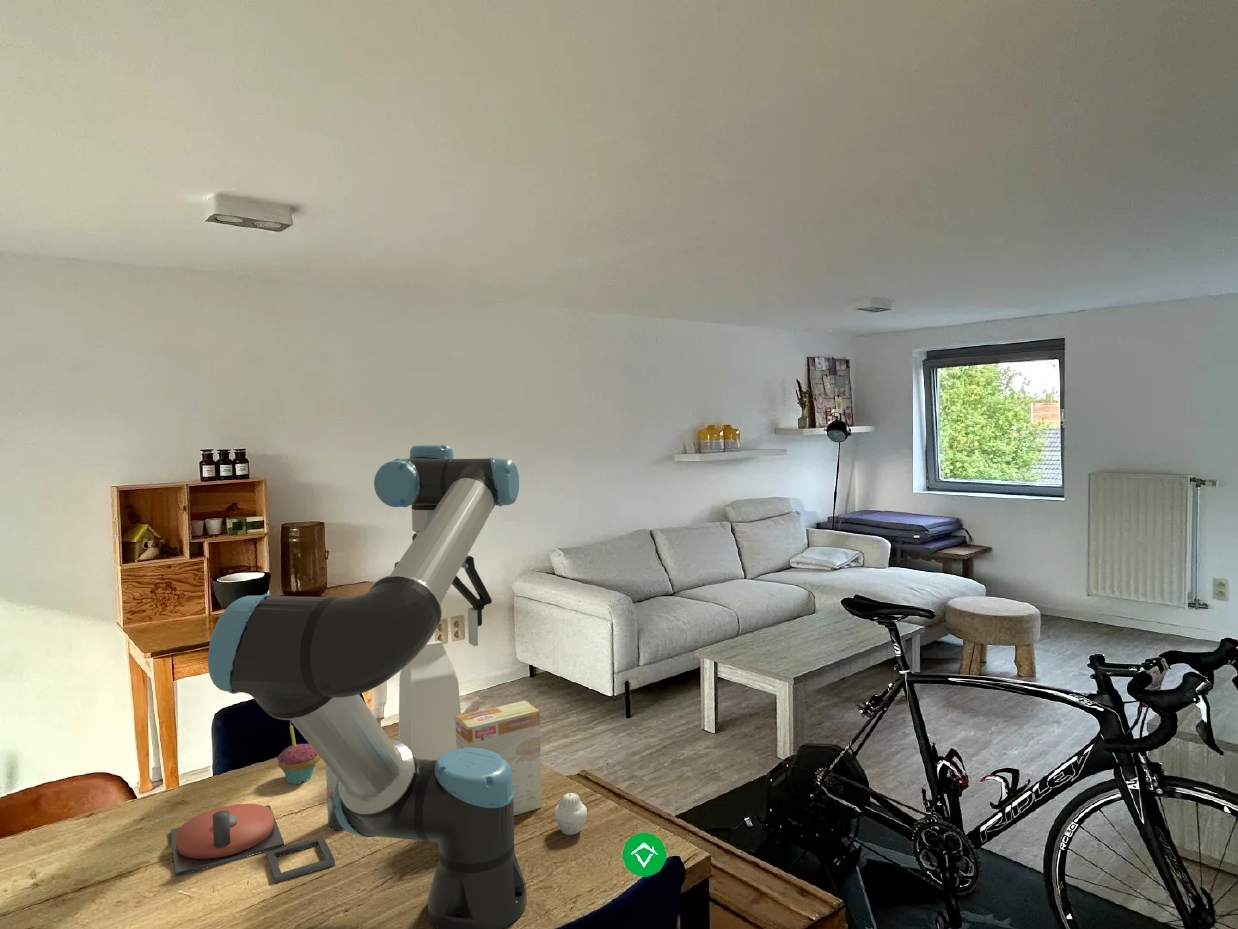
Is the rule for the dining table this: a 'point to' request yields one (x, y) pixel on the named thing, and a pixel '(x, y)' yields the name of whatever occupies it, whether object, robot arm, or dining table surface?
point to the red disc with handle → (224, 831)
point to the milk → (429, 703)
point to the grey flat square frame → (304, 869)
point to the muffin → (570, 814)
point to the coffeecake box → (509, 746)
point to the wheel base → (192, 864)
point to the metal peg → (331, 800)
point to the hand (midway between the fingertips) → (437, 650)
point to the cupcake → (298, 761)
